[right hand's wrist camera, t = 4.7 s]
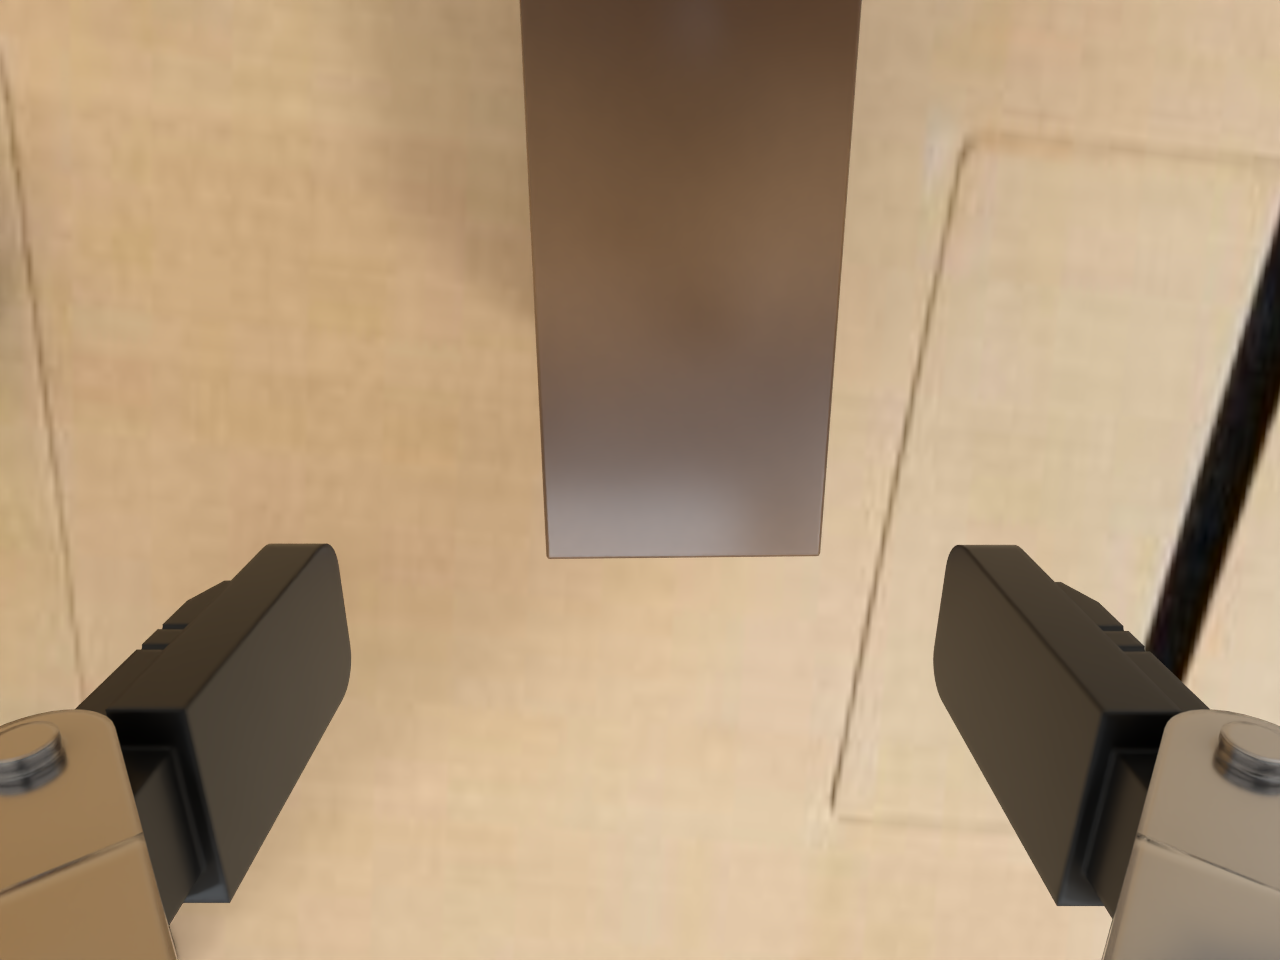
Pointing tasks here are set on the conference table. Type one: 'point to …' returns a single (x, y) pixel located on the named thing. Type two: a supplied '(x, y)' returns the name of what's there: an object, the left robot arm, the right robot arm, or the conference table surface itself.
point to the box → (686, 268)
